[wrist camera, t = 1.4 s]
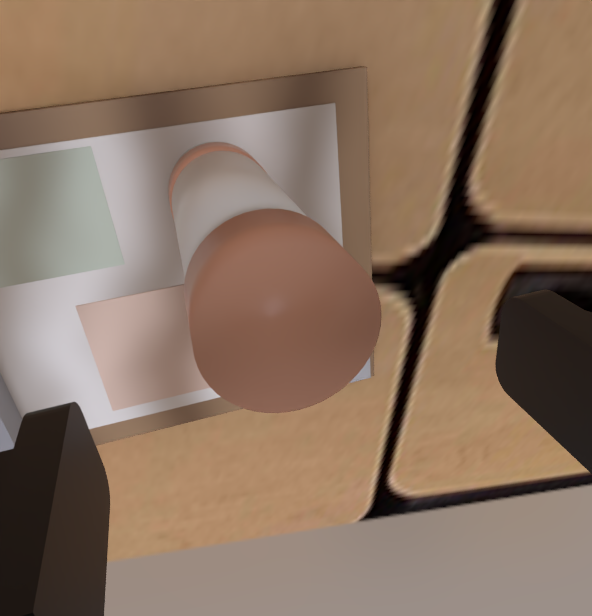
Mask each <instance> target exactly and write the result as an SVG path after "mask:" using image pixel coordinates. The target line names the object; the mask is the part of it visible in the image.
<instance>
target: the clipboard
mask: <svg viewBox="0 0 592 616" xmlns="http://www.w3.org/2000/svg"><path fill="white" fill-rule="evenodd" d="M207 142H225V143H229V144H232V145H235V146H238V147H240V148H242V149H243V150H245V151H246V152H248V153H249V154H250V155H251V156H252V157H253V158H254V159H255V160H256V161H257V162H258V163H259V164H260V165H261V166H262V168H263V169H264V170H265V171H266V173H267V175H268V176H269V177H270V178H271V179H272V180H273V181H274V182H275V183H276V184H277V185H278V186H279V187H280V188H281V189H282V190H283V191H284V192H285V193H286V195H287V196H288V197H289V198H290V199H291V200H292V201H293V202H294V203H295V204H296V205H297V206H298V207H299V208H300V209H301V210H302V211H303V212H304V213H305V215H306V216H307V217H309V218H311V219H312V220H314V221H315V222H317V223H318V224H320V225H321V226H322V227H323V228H324V229H325V230H326V231H327V232H328V233H329V234H330V235H331V236H332V237H333V238H334V239H335V240H336V241H337V242H338V243H339V244H340V245H341V246H342V247H343V248H344V249H345V250H346V251H347V252H348V253H349V254H350V255H351V256H352V257H353V258H354V259H355V260H356V261H357V262H358V263H359V264H360V265H361V266H362V268H363V269H364V270H365V271H366V272H367V274H368V275H369V276H370V278H371V280H372V260H371V217H370V174H369V131H368V88H367V67H354V68H346V69H339V70H331V71H323V72H315V73H307V74H300V75H292V76H284V77H276V78H269V79H261V80H253V81H245V82H238V83H230V84H222V85H214V86H207V87H199V88H191V89H183V90H176V91H168V92H160V93H152V94H144V95H137V96H129V97H121V98H113V99H106V100H98V101H90V102H82V103H75V104H67V105H59V106H51V107H44V108H36V109H28V110H20V111H12V112H5V113H0V373H1V375H2V377H3V379H4V381H5V384H6V386H7V388H8V390H9V392H10V394H11V396H12V398H13V400H14V402H15V404H16V407H17V409H18V411H19V413H20V415H21V417H22V419H23V417H24V415H25V414H26V413H29V412H33V411H37V410H41V409H45V408H50V407H54V406H58V405H62V404H66V403H70V402H76V403H77V404H78V405H79V406H80V408H81V410H82V413H83V415H84V418H85V420H86V423H87V425H88V428H89V430H90V433H91V435H92V438H93V440H94V443H95V445H100V444H104V443H108V442H112V441H116V440H120V439H124V438H128V437H132V436H136V435H140V434H144V433H148V432H152V431H156V430H160V429H164V428H168V427H172V426H176V425H180V424H183V423H187V422H191V421H195V420H199V419H203V418H207V417H211V416H215V415H219V414H223V413H227V412H231V411H235V410H239V409H243V408H241V407H239V406H236V405H234V404H232V403H230V402H228V401H226V400H225V399H223V398H222V397H221V396H219V395H218V394H217V393H216V392H215V391H214V390H213V389H212V388H211V387H210V386H209V385H208V384H207V383H206V381H205V380H204V378H203V377H202V375H201V373H200V371H199V369H198V367H197V364H196V361H195V358H194V353H193V347H192V341H191V335H190V329H189V323H188V317H187V311H186V305H185V298H184V282H185V277H184V271H183V266H182V260H181V255H180V249H179V244H178V239H177V233H176V228H175V222H174V219H173V216H172V213H171V208H170V202H169V195H168V186H169V180H170V176H171V173H172V171H173V168H174V166H175V165H176V163H177V161H178V160H179V159H180V158H181V156H182V155H183V154H185V153H186V152H187V151H188V150H190V149H191V148H193V147H195V146H197V145H200V144H202V143H207ZM371 376H374V350H373V352H372V354H371V356H370V357H369V359H368V361H367V362H366V364H365V365H364V367H363V368H362V369H361V371H360V372H359V373H358V374H357V375H356V376H355V377H354V378H353V380H352V381H351V382H355V381H359V380H363V379H367V378H371ZM351 382H350V383H351Z"/></svg>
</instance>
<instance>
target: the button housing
mask: <svg viewBox="0 0 592 616" xmlns="http://www.w3.org/2000/svg"><path fill="white" fill-rule="evenodd" d="M21 422H22V417H21V415H20V413H19V411H18V409H17V407H16V404H15V402H14V400H13V398H12V396H11V394H10V392H9V390H8V388H7V386H6V384H5V381H4V379H3V377H2V375H1V373H0V452H2V451H6V450H10V449H13V448H14V445H15V442H16V438H17V435H18V432H19V428H20V425H21Z"/></svg>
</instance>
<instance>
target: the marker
mask: <svg viewBox="0 0 592 616" xmlns="http://www.w3.org/2000/svg"><path fill="white" fill-rule="evenodd" d="M168 195H169V202H170V208H171V213H172V216H173V219H174V222H175V228H176V233H177V239H178V244H179V249H180V255H181V260H182V266H183V271H184V277H185V282H184V298H185V305H186V311H187V317H188V323H189V329H190V335H191V341H192V347H193V353H194V358H195V361H196V364H197V367H198V369H199V371H200V373H201V375H202V377H203V378H204V380H205V381H206V383H207V384H208V385H209V386H210V387H211V388H212V389H213V390H214V391H215V392H216V393H217V394H218V395H219V396H221V397H222V398H223V399H225V400H226V401H228V402H230V403H232V404H234V405H236V406H239V407H241V408H244V409H248V410H252V411H256V412H264V413H281V412H290V411H295V410H300V409H303V408H306V407H310V406H312V405H315V404H317V403H319V402H322V401H323V400H325V399H327V398H329V397H331V396H332V395H334V394H335V393H337V392H338V391H340V390H341V389H342V388H344V387H345V386H346V385H347V384H348V383H350V382H351V381H352V380H353V378H354V377H355V376H356V375H357V374H358V373H359V372H360V371H361V369H362V368H363V367H364V365H365V364H366V362H367V361H368V359H369V357H370V356H371V354H372V352H373V350H374V347H375V345H376V342H377V339H378V336H379V331H380V326H381V305H380V300H379V296H378V293H377V290H376V288H375V285H374V283H373V281H372V280H371V278H370V276H369V275H368V274H367V272H366V271H365V270H364V269H363V268H362V266H361V265H360V264H359V263H358V262H357V261H356V260H355V259H354V258H353V257H352V256H351V255H350V254H349V253H348V252H347V251H346V250H345V249H344V248H343V247H342V246H341V245H340V244H339V243H338V242H337V241H336V240H335V239H334V238H333V237H332V236H331V235H330V234H329V233H328V232H327V231H326V230H325V229H324V228H323V227H322V226H321V225H320V224H318V223H317V222H315V221H314V220H312V219H311V218H309V217H307V216H306V215H305V213H304V212H303V211H302V210H301V209H300V208H299V207H298V206H297V205H296V204H295V203H294V202H293V201H292V200H291V199H290V198H289V197H288V196H287V195H286V193H285V192H284V191H283V190H282V189H281V188H280V187H279V186H278V185H277V184H276V183H275V182H274V181H273V180H272V179H271V178H270V177H269V176H268V175H267V173H266V171H265V170H264V169H263V168H262V166H261V165H260V164H259V163H258V162H257V161H256V160H255V159H254V158H253V157H252V156H251V155H250V154H249V153H248V152H246V151H245V150H243V149H242V148H240V147H238V146H235V145H232V144H229V143H225V142H207V143H202V144H200V145H197V146H195V147H193V148H191V149H190V150H188V151H187V152H186V153H185V154H183V155H182V156H181V158H180V159H179V160H178V161H177V163H176V165H175V166H174V168H173V171H172V173H171V176H170V180H169V186H168Z"/></svg>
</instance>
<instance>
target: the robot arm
mask: <svg viewBox="0 0 592 616" xmlns="http://www.w3.org/2000/svg"><path fill="white" fill-rule="evenodd" d="M496 373H497V377H498V380H499V382H500V384H501V386H502V388H503V389H504V391H505V392H506V393H507V394H508V395H509V396H510V397H511V398H512V399H513V400H514V401H515V402H516V403H517V404H518V405H519V406H520V407H521V408H522V409H524V410H525V411H526V412H527V413H528V414H529V415H530V416H531V417H532V418H533V419H534V420H535V421H536V422H537V423H538V424H539V425H541V426H542V427H543V428H544V429H545V430H546V431H547V432H548V433H549V434H550V435H551V436H552V437H553V438H554V439H555V440H556V441H558V442H559V443H560V444H561V445H562V446H563V447H564V448H565V449H566V450H567V451H568V452H569V453H570V454H571V455H572V456H573V457H574V458H576V459H577V460H578V461H579V462H580V463H581V464H582V465H583V466H584V467H585V468H586V469H587V470H588V471H589V472H590V473H591V474H592V313H591V312H588V311H585V310H583V309H581V308H580V307H578V306H576V305H574V304H573V303H571V302H569V301H568V300H566V299H564V298H563V297H561V296H559V295H558V294H556V293H554V292H552V291H550V290H542V291H538V292H533V293H529V294H525V295H521V296H517V297H513V298H509V299H508V300H507V301H506V302H505V303H504V305H503V308H502V314H501V323H500V331H499V339H498V347H497V356H496ZM109 514H110V493H109V485H108V480H107V475H106V472H105V468H104V466H103V463H102V460H101V458H100V455H99V453H98V450H97V448H96V445H95V443H94V440H93V438H92V435H91V433H90V430H89V428H88V425H87V423H86V420H85V418H84V415H83V413H82V410H81V408H80V406H79V405H78V404H77V403H76V402H70V403H66V404H62V405H58V406H54V407H50V408H45V409H41V410H37V411H33V412H29V413H26V414H25V415H24V417H23V419H22V422H21V425H20V428H19V432H18V435H17V438H16V442H15V445H14V448H13V449H10V450H6V451H2V452H0V616H104V603H105V585H106V566H107V549H108V531H109Z"/></svg>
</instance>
